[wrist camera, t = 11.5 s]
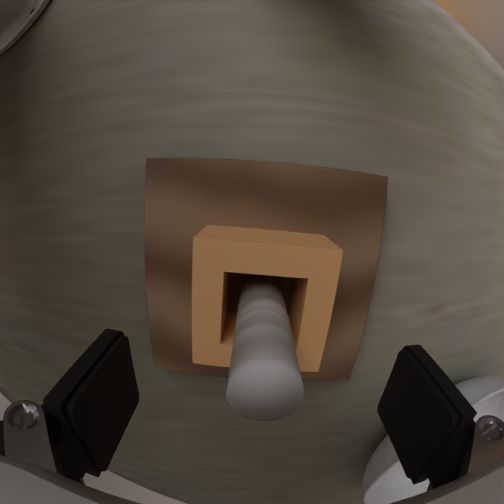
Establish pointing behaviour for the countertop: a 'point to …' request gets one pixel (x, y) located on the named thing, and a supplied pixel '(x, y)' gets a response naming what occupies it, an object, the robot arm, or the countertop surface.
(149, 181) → the post stand
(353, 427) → the countertop surface
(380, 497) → the serving bowl
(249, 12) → the countertop surface
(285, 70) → the countertop surface
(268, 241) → the collar
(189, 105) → the countertop surface
